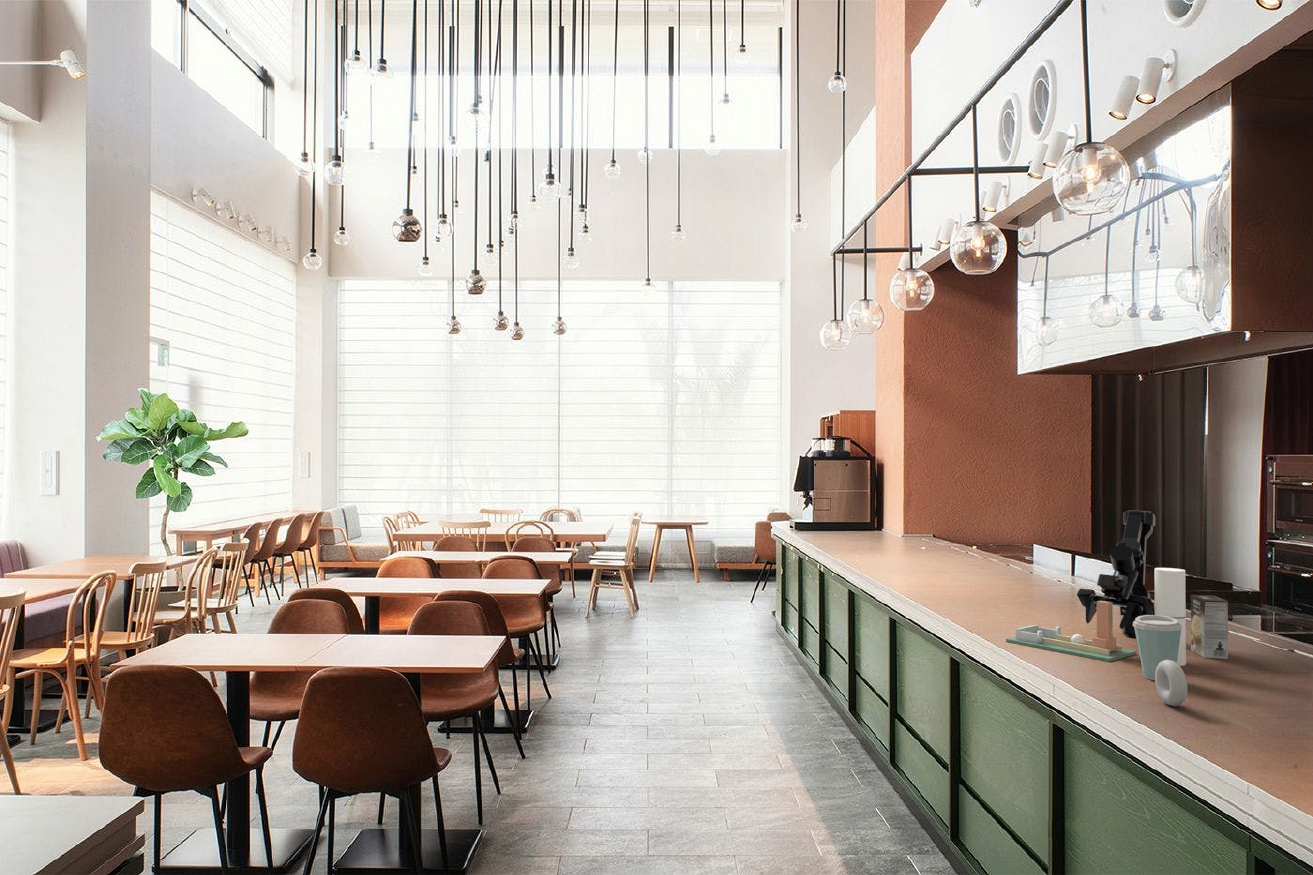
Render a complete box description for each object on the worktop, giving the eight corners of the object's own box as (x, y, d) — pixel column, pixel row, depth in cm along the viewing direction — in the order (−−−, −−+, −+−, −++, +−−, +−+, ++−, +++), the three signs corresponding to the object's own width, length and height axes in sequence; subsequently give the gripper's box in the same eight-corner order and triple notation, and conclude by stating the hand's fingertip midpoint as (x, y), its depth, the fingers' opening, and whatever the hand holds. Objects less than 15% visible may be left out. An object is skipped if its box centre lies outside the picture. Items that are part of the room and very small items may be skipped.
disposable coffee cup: (1182, 686, 205) (1182, 623, 205) (1131, 679, 210) (1131, 619, 211) (1182, 676, 214) (1182, 617, 214) (1133, 670, 219) (1133, 612, 220)
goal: (1036, 634, 260) (1036, 622, 260) (1062, 639, 253) (1062, 627, 253) (1015, 639, 253) (1015, 627, 253) (1041, 644, 246) (1041, 631, 246)
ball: (1083, 645, 245) (1083, 633, 245) (1086, 648, 241) (1086, 635, 241) (1070, 644, 246) (1069, 632, 246) (1072, 647, 242) (1072, 635, 242)
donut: (1152, 698, 194) (1151, 654, 194) (1167, 699, 194) (1167, 655, 194) (1174, 711, 184) (1173, 665, 184) (1191, 712, 184) (1190, 666, 184)
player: (1103, 647, 241) (1103, 600, 241) (1116, 650, 238) (1116, 601, 238) (1093, 650, 237) (1092, 602, 237) (1105, 652, 234) (1105, 603, 235)
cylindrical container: (1175, 666, 224) (1175, 571, 224) (1149, 661, 230) (1148, 568, 230) (1191, 664, 227) (1191, 570, 227) (1165, 658, 233) (1164, 567, 234)
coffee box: (1189, 650, 243) (1189, 594, 243) (1214, 651, 242) (1214, 595, 242) (1203, 658, 234) (1203, 599, 234) (1229, 659, 233) (1229, 600, 233)
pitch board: (1034, 635, 262) (1034, 627, 262) (1136, 653, 238) (1136, 645, 238) (1006, 641, 253) (1006, 633, 253) (1109, 661, 229) (1109, 653, 229)
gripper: (1079, 560, 248) (1060, 601, 241) (1147, 567, 233) (1128, 611, 226) (1093, 585, 253) (1074, 626, 246) (1160, 593, 238) (1142, 637, 231)
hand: (1103, 625), depth 237 cm, fingers open, 9 cm apart
